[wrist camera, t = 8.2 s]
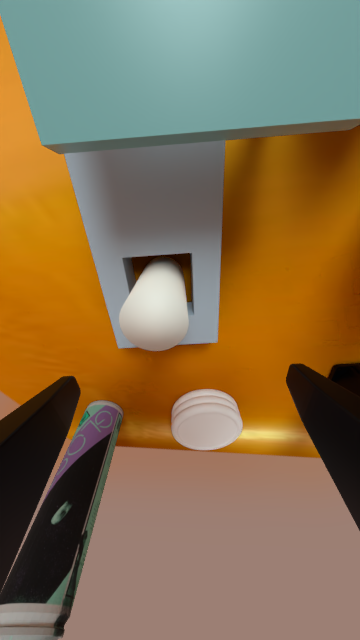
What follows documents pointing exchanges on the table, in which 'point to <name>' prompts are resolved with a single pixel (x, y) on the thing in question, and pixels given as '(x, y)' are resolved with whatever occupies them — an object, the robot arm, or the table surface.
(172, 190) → the socket board
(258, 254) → the table surface
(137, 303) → the peg
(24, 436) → the robot arm
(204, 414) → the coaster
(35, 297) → the table surface
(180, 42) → the l-shaped bracket
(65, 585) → the spray can
